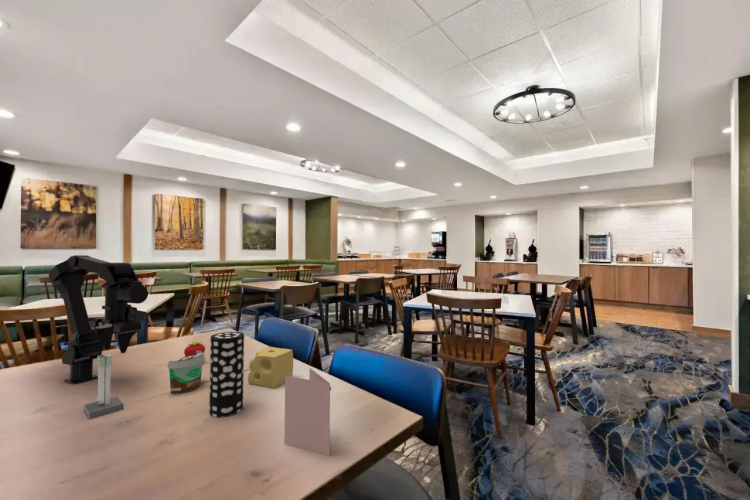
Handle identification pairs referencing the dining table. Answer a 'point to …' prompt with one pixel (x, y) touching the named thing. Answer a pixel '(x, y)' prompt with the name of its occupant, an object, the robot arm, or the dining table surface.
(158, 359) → the dining table surface
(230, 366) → the white-spotted black cylinder
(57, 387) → the dining table surface
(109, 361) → the stand
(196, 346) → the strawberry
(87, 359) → the robot arm
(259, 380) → the cheese
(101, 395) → the swinging tong arm
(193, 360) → the food container
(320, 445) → the greeting card
